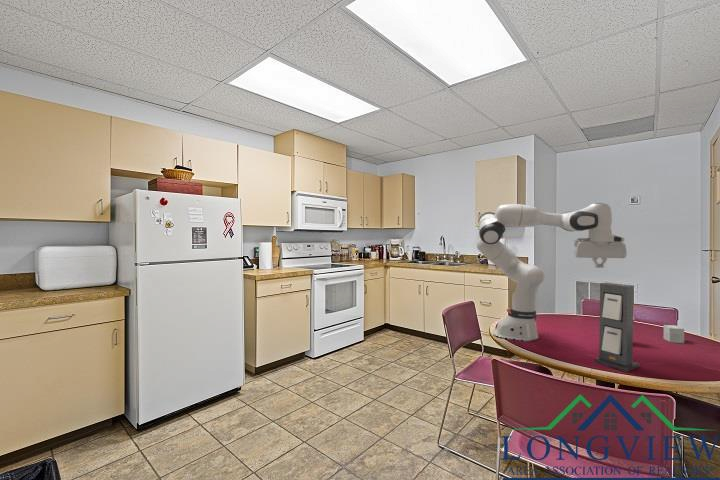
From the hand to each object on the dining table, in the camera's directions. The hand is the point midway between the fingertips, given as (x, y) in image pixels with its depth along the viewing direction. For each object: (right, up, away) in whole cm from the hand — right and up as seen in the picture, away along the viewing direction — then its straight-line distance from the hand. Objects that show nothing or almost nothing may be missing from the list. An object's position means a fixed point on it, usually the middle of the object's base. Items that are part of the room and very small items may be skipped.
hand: (599, 267), depth 159 cm
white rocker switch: (-8, -20, -18) cm, 28 cm away
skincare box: (+46, -39, +13) cm, 62 cm away
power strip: (-5, -40, -16) cm, 43 cm away
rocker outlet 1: (-8, -34, -18) cm, 39 cm away
